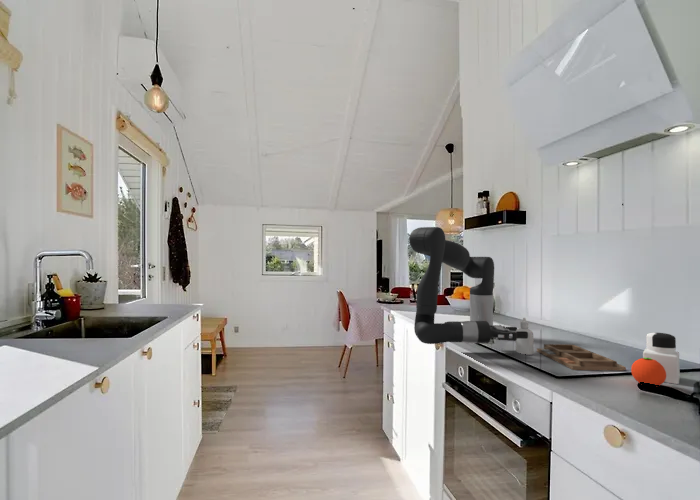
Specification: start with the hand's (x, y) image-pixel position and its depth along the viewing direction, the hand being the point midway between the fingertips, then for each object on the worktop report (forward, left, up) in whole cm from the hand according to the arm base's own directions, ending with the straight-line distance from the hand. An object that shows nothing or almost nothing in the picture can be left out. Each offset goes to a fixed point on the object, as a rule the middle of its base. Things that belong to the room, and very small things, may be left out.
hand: (521, 332), depth 126 cm
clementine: (+32, +18, -7) cm, 37 cm away
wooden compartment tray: (+8, +14, -7) cm, 17 cm away
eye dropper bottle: (0, +1, -7) cm, 7 cm away
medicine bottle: (+26, +26, -7) cm, 37 cm away
